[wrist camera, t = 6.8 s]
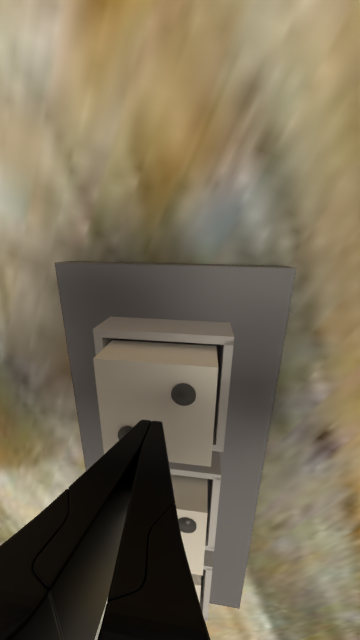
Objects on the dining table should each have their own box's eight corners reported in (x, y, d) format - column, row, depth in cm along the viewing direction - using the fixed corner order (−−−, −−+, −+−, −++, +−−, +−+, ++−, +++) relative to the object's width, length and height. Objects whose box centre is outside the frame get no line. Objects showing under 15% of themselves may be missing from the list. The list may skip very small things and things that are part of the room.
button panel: (285, 265, 12) (315, 272, 9) (237, 583, 20) (242, 648, 17) (71, 261, 13) (25, 265, 10) (109, 561, 22) (91, 618, 18)
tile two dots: (216, 346, 10) (218, 368, 8) (210, 432, 12) (210, 468, 10) (112, 339, 11) (91, 359, 9) (119, 423, 12) (103, 455, 10)
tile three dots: (207, 474, 13) (207, 515, 11) (203, 532, 14) (202, 578, 12) (123, 464, 13) (108, 501, 11) (127, 521, 15) (115, 563, 13)
